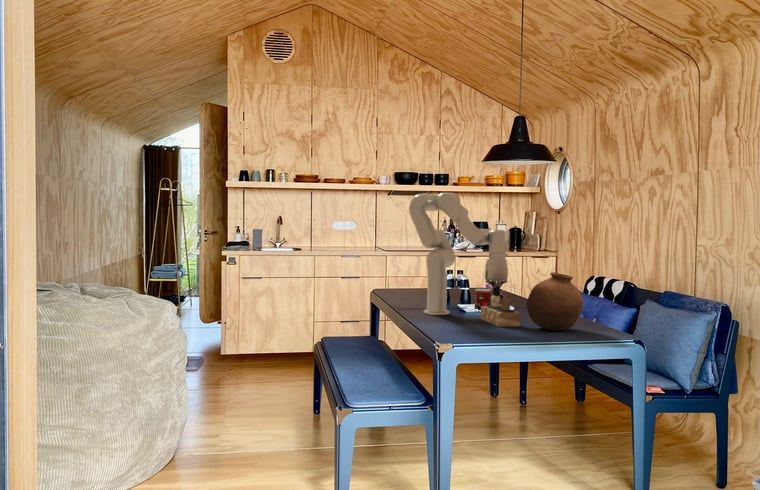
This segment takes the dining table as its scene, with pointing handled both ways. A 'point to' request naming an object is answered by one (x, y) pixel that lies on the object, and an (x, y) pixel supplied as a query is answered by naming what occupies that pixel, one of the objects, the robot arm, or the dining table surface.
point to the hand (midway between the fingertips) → (496, 295)
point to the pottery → (555, 303)
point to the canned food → (482, 298)
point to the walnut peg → (505, 304)
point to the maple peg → (495, 301)
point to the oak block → (500, 316)
